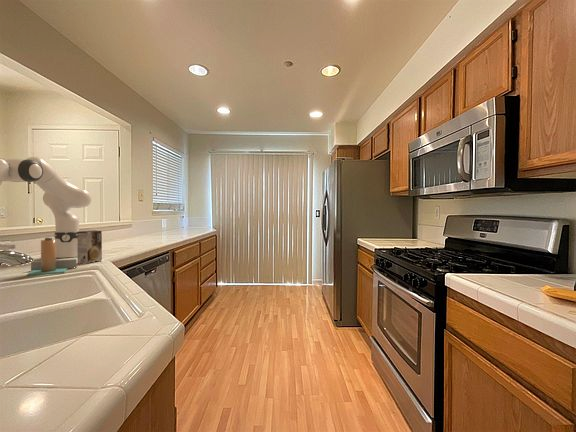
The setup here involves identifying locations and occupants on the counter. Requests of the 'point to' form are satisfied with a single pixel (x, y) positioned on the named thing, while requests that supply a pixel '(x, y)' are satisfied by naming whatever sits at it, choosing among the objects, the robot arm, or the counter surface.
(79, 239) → the coffee box
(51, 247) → the amber bottle
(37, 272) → the pad
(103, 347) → the counter surface
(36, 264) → the acrylic wall
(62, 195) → the robot arm
